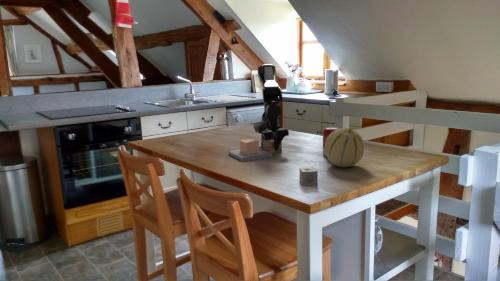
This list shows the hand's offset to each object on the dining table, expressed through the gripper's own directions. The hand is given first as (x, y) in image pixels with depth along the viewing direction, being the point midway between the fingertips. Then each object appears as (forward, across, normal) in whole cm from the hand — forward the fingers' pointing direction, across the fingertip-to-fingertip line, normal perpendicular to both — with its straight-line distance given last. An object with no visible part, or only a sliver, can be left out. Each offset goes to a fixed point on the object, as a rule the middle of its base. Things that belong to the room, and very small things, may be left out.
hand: (272, 149), depth 175 cm
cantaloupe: (+1, +36, +10) cm, 37 cm away
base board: (+1, +1, -12) cm, 12 cm away
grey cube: (+1, +46, -13) cm, 48 cm away
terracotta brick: (0, +1, -12) cm, 12 cm away
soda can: (+1, +21, +16) cm, 26 cm away
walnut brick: (+1, 0, 0) cm, 1 cm away
